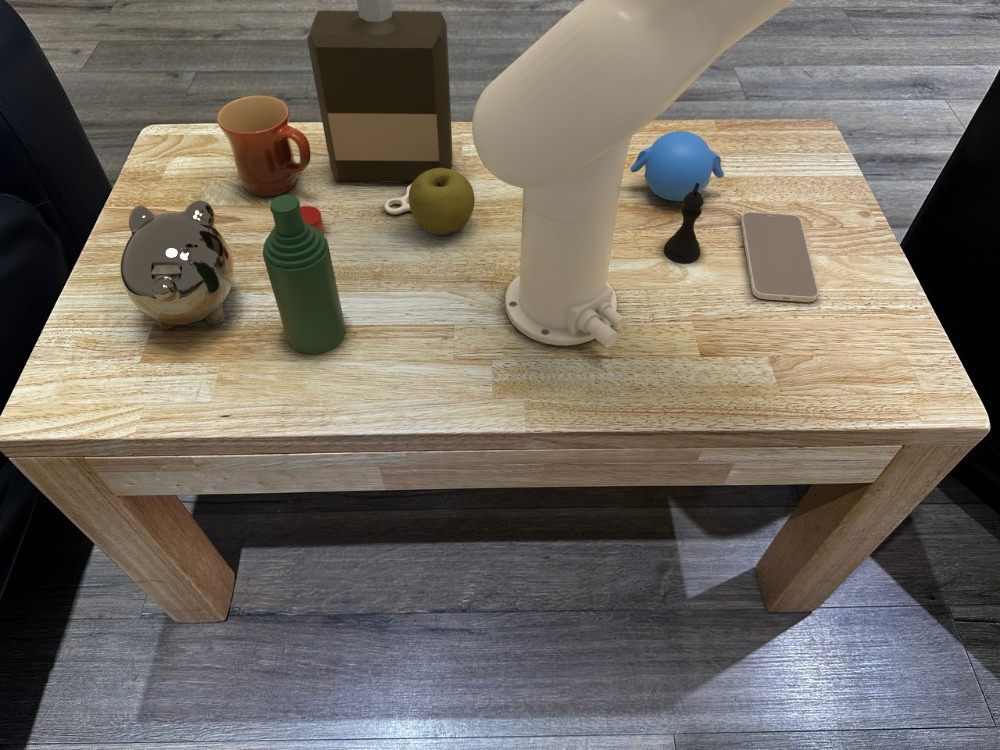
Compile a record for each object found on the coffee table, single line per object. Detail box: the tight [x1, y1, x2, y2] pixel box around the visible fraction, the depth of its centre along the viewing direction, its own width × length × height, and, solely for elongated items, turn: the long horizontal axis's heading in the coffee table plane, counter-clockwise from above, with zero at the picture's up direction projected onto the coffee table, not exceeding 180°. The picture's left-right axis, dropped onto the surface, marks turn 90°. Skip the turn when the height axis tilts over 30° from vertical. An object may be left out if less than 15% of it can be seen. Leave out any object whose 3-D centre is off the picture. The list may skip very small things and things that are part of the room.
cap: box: [300, 205, 325, 235], centre depth 97 cm, size 4×4×3 cm
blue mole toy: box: [630, 130, 725, 202], centre depth 101 cm, size 12×12×8 cm
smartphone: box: [740, 211, 819, 303], centre depth 95 cm, size 7×1×15 cm
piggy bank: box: [119, 199, 234, 330], centre depth 85 cm, size 11×15×12 cm
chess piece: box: [663, 183, 705, 264], centre depth 92 cm, size 4×4×10 cm
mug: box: [216, 94, 312, 197], centre depth 100 cm, size 12×9×10 cm
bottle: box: [306, 0, 454, 183], centre depth 97 cm, size 8×16×25 cm, turn 90°
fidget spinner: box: [383, 183, 412, 215], centre depth 101 cm, size 7×6×1 cm
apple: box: [408, 168, 476, 235], centre depth 96 cm, size 8×8×7 cm
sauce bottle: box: [262, 194, 346, 355], centre depth 80 cm, size 6×6×18 cm
